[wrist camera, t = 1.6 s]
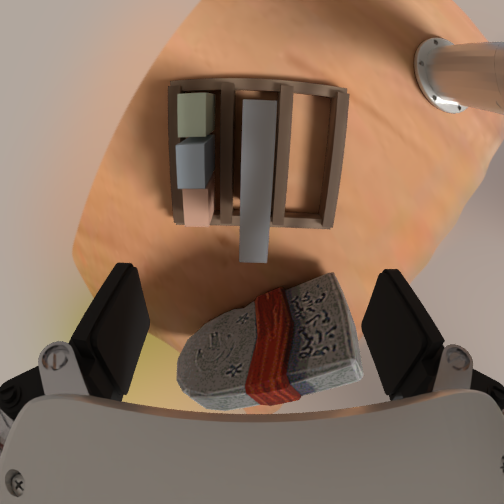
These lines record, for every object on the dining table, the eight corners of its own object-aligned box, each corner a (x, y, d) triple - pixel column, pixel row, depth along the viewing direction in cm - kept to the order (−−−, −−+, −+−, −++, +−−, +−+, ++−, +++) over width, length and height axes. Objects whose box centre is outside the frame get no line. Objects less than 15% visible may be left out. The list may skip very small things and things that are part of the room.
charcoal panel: (266, 101, 32) (277, 100, 18) (261, 201, 39) (266, 262, 25) (246, 101, 32) (242, 99, 18) (243, 200, 39) (239, 262, 25)
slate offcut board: (215, 134, 34) (204, 144, 26) (215, 168, 37) (204, 188, 29) (192, 134, 34) (175, 145, 26) (193, 168, 36) (177, 188, 29)
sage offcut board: (215, 94, 31) (206, 92, 24) (215, 129, 34) (205, 136, 27) (192, 95, 31) (177, 94, 24) (192, 129, 34) (177, 137, 27)
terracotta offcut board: (215, 173, 37) (207, 189, 31) (215, 205, 39) (209, 226, 33) (193, 173, 37) (182, 189, 31) (194, 205, 39) (184, 226, 33)
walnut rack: (342, 89, 31) (349, 88, 28) (326, 223, 41) (331, 232, 38) (174, 82, 30) (168, 80, 27) (179, 218, 40) (174, 227, 38)
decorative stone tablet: (357, 361, 27) (159, 402, 37) (369, 384, 30) (186, 419, 40) (333, 259, 43) (186, 317, 53) (345, 287, 46) (205, 337, 56)
